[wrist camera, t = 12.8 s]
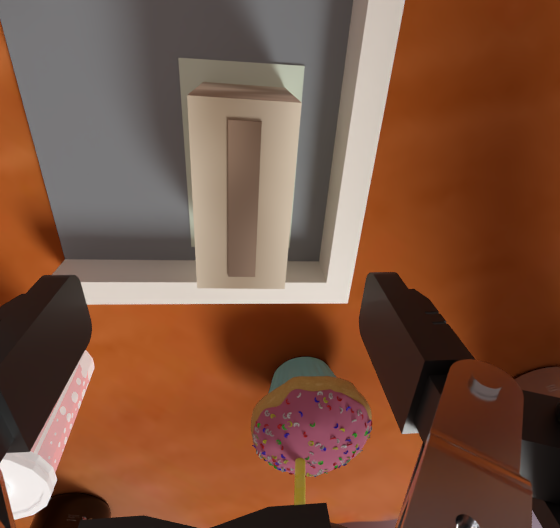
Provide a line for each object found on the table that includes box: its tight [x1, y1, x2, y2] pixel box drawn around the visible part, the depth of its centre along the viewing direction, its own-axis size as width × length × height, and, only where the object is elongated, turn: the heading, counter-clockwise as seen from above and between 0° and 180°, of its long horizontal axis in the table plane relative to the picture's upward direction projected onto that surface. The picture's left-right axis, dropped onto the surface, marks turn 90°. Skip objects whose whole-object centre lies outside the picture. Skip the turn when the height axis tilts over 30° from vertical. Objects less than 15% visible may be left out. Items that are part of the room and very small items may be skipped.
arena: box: [0, 0, 405, 304], centre depth 18 cm, size 17×17×3 cm
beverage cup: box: [0, 350, 94, 520], centre depth 21 cm, size 6×6×14 cm
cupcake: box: [251, 357, 372, 505], centre depth 24 cm, size 9×8×12 cm
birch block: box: [187, 82, 302, 289], centre depth 17 cm, size 4×8×6 cm, turn 176°
